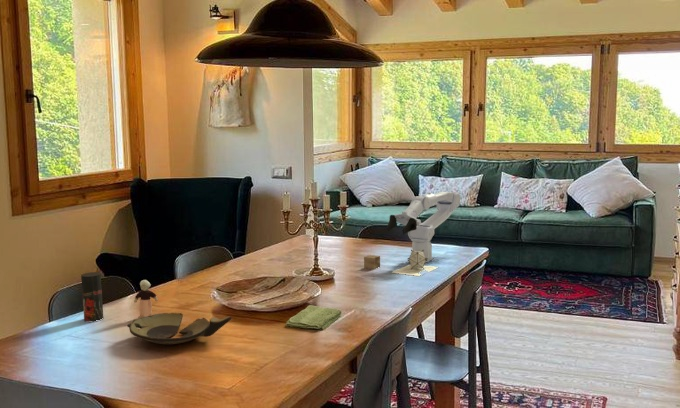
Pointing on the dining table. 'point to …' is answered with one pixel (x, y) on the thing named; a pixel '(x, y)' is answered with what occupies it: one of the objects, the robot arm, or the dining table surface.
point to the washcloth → (314, 318)
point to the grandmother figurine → (145, 299)
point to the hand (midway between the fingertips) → (395, 230)
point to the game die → (417, 259)
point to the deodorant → (92, 296)
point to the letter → (413, 270)
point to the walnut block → (371, 262)
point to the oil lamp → (173, 328)
